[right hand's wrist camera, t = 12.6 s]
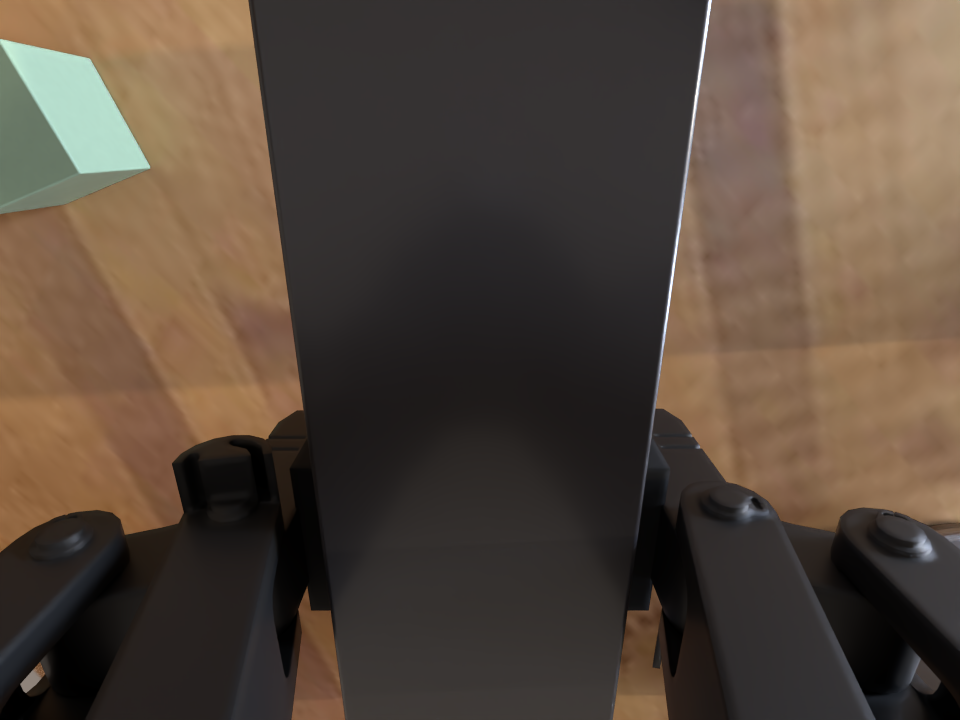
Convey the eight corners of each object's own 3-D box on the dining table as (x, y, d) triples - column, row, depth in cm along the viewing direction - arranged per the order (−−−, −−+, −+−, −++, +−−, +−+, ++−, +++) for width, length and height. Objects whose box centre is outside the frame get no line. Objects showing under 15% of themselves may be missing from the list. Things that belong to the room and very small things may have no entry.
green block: (90, 57, 24) (-2, 37, 20) (151, 168, 26) (81, 173, 21) (-2, 99, 25) (-112, 89, 20) (64, 204, 27) (-23, 217, 22)
